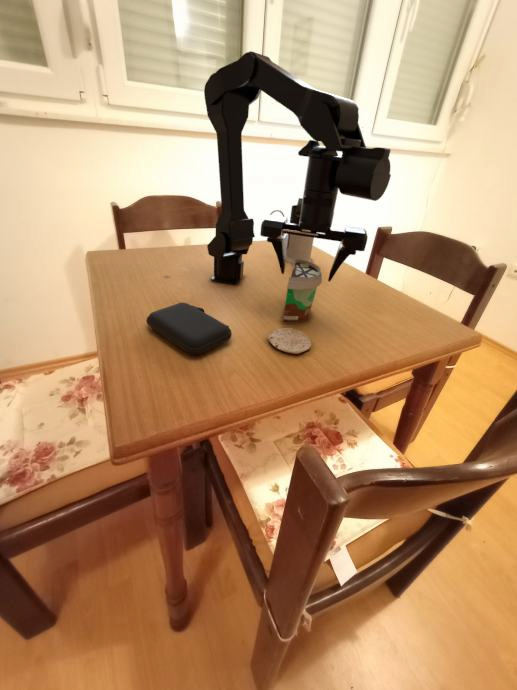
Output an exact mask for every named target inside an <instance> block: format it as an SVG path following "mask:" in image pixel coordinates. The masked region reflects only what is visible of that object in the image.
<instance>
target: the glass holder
mask: <svg viewBox="0 0 517 690" xmlns="http://www.w3.org/2000/svg"><path fill="white" fill-rule="evenodd" d="M296 209H297V204H294V205H292V206H291V210H290V218H289V223H292V224H299V221H300V217H297V216H296ZM275 212H279V213H280V214H281V215H282V217H285V214H284V212H283V211H282V210H280V209H275V210H274V209H273V211H271V212H270V213H269V216H270V215H273V214H274V213H275ZM303 231H306V232H307V231H308V232H310V231H309V230H304V229H303ZM314 240H315V238H313V237H306V236H299V235H292V234H287V241H286V263H288V264H292V265H295V259H296V258H297V259H302V260H306V261H309V262H311V263H312V259H311V257H312V250H313V245H314Z"/></svg>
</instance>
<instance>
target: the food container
mask: <svg viewBox="0 0 517 690" xmlns="http://www.w3.org/2000/svg"><path fill="white" fill-rule="evenodd" d="M293 265H294V266H293V268H292V272H291V275H290V276H289V277H288V282H287V286H286V287H287V288H286V297H285V303H284V311H283V319H282V323H285V324H298V323H302V322H305V321H307V320H308V319H309V317H310V313H311V311H312V306H313V303H314V299H315V296H316V292H317V288H318V287H319V286H321V284H322V282H323V281H322V280H323V273H322V270H321V268H320V267H319V266H318V264H315V263H314V262H312V261H311V262H309V261H306V260H302V259H297V258H296V259H295V264H293Z"/></svg>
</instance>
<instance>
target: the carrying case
mask: <svg viewBox="0 0 517 690" xmlns="http://www.w3.org/2000/svg"><path fill="white" fill-rule="evenodd" d="M146 324H147V325H148V327H150V328H151V329H152V330H154V331H155V332H156V333H158V334H160V335H161V336H163V338H165V339H167V340H168V341H169V342H171V343H172V344H174V345H175V346H177V347H178V348H180V349H181V350H183V351H184V352H185V353H187V354H189V355H190V356H191V355H192V356H199V355H202V354H203V353H206V352H208V351H209V350H211V349H213V348H217V346H220V345H222V344H223V343H225V342H227V341H229V340H230V339H231V338H232V335H233V332H232V330H231V328H230V326H229V325H227V324H225V323H224V322H222V321H220V320H218V319H216V318H215V317H213V316H211V315H209V314H208V313H206V312H205V309H204V308H203V307H198V306H195V305H191V304H190V303H188V302H179V303H175V304H172V305H169V306H167V307H164V308H161V309H158V310H155V311H153V312H151V313H150V314H149V315H148V316H147V317H146Z"/></svg>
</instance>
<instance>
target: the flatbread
mask: <svg viewBox="0 0 517 690" xmlns="http://www.w3.org/2000/svg"><path fill="white" fill-rule="evenodd" d="M267 338H268V339H267V340H268V341H269V343H270V344H271V345H272V346H273V347H274V348H275V349H277V350H279V351H282V352H285V353H288V354H293V355H294V354H295V355H298V354H301V353H303V352H306V351H308V350H310V349H311V347H312V340H311V338H310V337H309V336H308V335H307V334H305V333H304V332H303V331H300V330H298V329H295V328H291V327H284V328H278V329H274V330H272V332H270V333H269V335H268V337H267Z"/></svg>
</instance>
